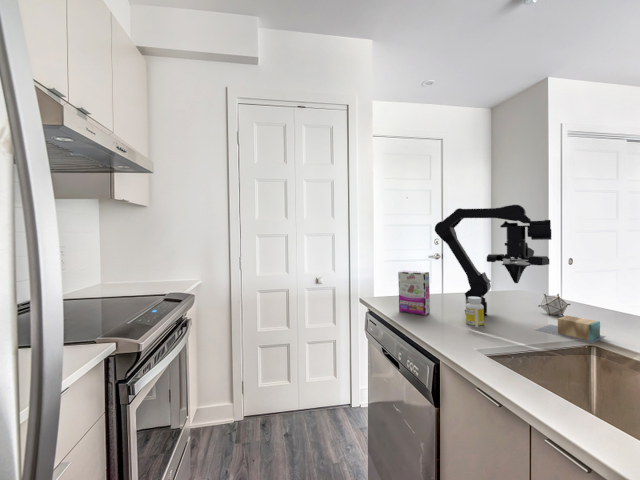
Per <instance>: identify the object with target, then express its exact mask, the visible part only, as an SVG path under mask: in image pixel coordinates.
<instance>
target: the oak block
mask: <svg viewBox="0 0 640 480" xmlns="http://www.w3.org/2000/svg"><path fill="white" fill-rule="evenodd" d="M557 326H558V333H559V334H563V335H568V336H572V337H576V338H581V339H585V340H589V341H593V340H595V339H597V338H599V337H600V335H601V322H600V320H593V319H588V318H582V317H578V316H577V317H576V316H572V315H564V316H561V317H558V318H557Z"/></svg>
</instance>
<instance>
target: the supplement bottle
mask: <svg viewBox="0 0 640 480" xmlns="http://www.w3.org/2000/svg"><path fill="white" fill-rule="evenodd" d="M468 302H469V303H467V304H466V303H465V310H466V312H465V324H466V325H467V326H469V327H472V328H483V327H484V326H485V315H484V306H483V305H482V304H481V298H480V297H468Z"/></svg>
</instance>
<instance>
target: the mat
mask: <svg viewBox="0 0 640 480" xmlns="http://www.w3.org/2000/svg"><path fill="white" fill-rule="evenodd" d="M535 331H537V332H542V333H547V334H551V335H554V336H555V335H556V336H557V337H558V336H559V337H563V338H567V339H571V340H576V341H580V342H584V343H589V344H594V343H596V342H598V341H600V340H601V339H603V338H605V337H606V335H602V334H600V337H599V338H597V339H595V340H593V341H589V340H585V339H581V338H576V337H572V336H568V335H563V334H559V333H558V325H554V324H547V325H544V326H542V327H539V328H536V329H535Z"/></svg>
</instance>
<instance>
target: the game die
mask: <svg viewBox="0 0 640 480" xmlns="http://www.w3.org/2000/svg"><path fill="white" fill-rule="evenodd" d="M543 296H544V297H543V300H542V302H541V303H540V304H539V305H538V308H540V307H541V308H542V309H543V310H544V311H545V312H546V313H547V314H548V316H561V317H564V316H565V315H564V313H565V312H566V309H567V308H568V306H571V304H572V303H567V302H566V301H565V300H564V299H562V298H561V296H560V293H557V295H546V293H543Z"/></svg>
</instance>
